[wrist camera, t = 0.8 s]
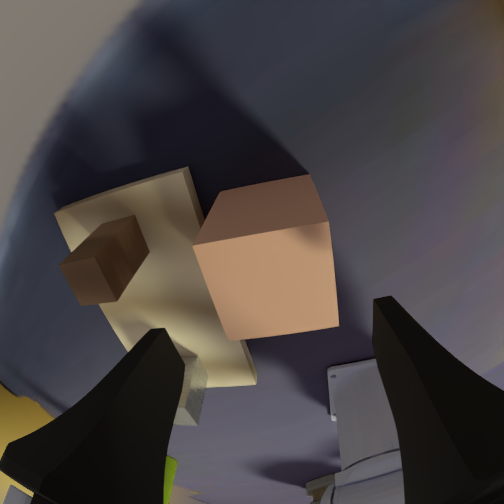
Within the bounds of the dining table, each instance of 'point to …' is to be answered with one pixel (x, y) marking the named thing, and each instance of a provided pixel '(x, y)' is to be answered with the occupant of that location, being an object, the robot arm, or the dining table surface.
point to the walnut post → (106, 261)
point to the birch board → (164, 273)
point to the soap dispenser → (169, 478)
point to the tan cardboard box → (269, 260)
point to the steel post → (191, 392)
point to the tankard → (319, 487)
